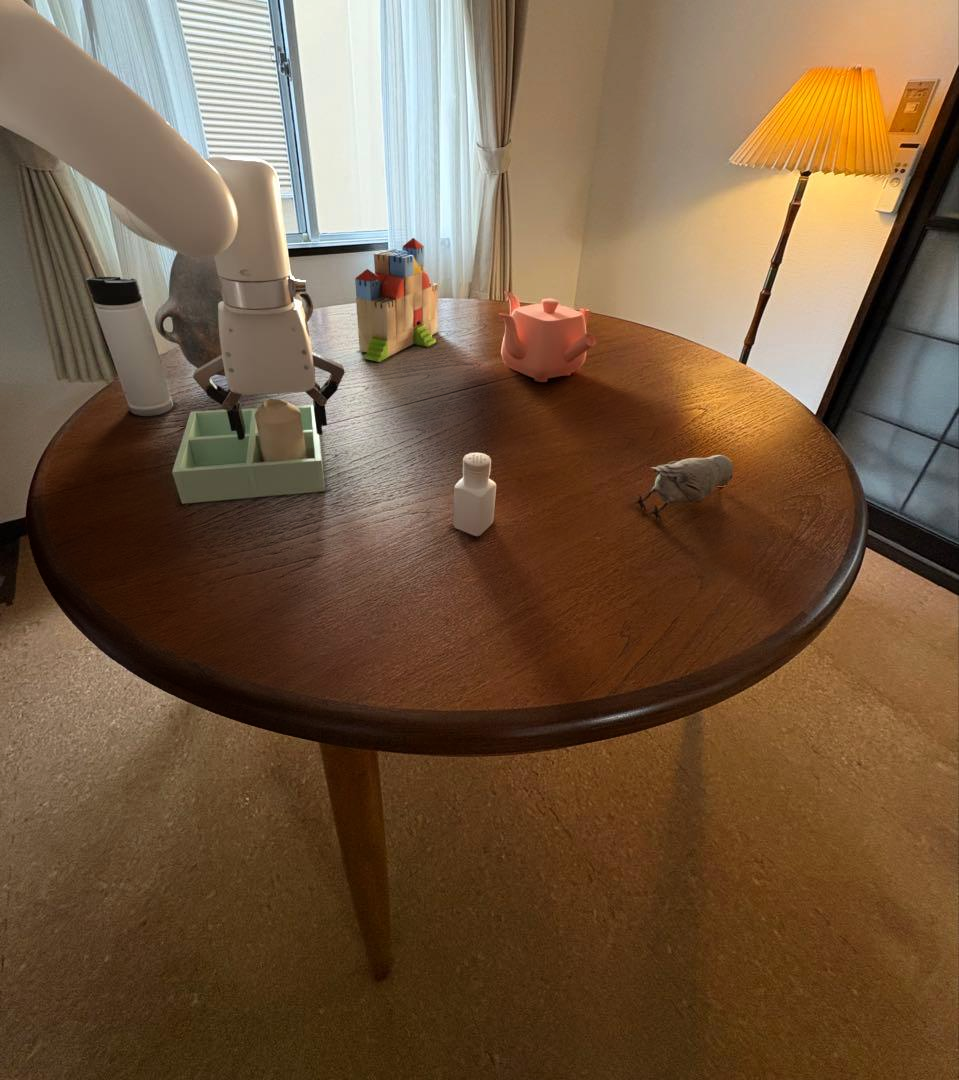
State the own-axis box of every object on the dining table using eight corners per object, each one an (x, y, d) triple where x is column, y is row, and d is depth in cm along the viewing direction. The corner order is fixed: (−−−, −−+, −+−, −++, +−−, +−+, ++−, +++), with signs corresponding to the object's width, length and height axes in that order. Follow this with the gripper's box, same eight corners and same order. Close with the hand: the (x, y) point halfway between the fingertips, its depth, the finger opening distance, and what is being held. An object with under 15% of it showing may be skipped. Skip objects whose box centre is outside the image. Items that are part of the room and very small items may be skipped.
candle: (317, 468, 77) (308, 399, 71) (290, 486, 73) (278, 415, 67) (285, 458, 79) (273, 390, 73) (257, 475, 75) (242, 404, 69)
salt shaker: (467, 513, 72) (471, 447, 66) (494, 523, 70) (500, 457, 65) (450, 528, 69) (453, 460, 63) (478, 539, 68) (483, 471, 62)
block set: (393, 366, 112) (389, 260, 100) (335, 352, 116) (325, 249, 104) (457, 331, 132) (460, 240, 121) (406, 320, 137) (404, 231, 125)
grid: (181, 504, 70) (171, 472, 67) (198, 440, 83) (190, 411, 80) (325, 491, 74) (321, 460, 71) (319, 432, 87) (315, 404, 85)
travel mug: (120, 414, 88) (71, 277, 76) (146, 398, 93) (105, 268, 81) (156, 419, 88) (114, 282, 75) (181, 403, 93) (145, 272, 81)
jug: (256, 416, 90) (214, 201, 72) (153, 390, 96) (91, 184, 78) (340, 369, 109) (324, 188, 91) (250, 349, 115) (218, 175, 96)
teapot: (492, 383, 108) (498, 308, 99) (499, 352, 122) (505, 284, 114) (587, 393, 107) (601, 318, 98) (582, 360, 121) (594, 292, 113)
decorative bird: (736, 498, 79) (755, 450, 75) (656, 529, 72) (671, 479, 67) (706, 480, 83) (722, 434, 78) (627, 508, 75) (639, 459, 71)
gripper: (335, 283, 67) (347, 416, 77) (177, 283, 63) (212, 424, 73) (340, 300, 61) (352, 441, 72) (166, 301, 57) (206, 451, 68)
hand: (281, 432), depth 72 cm, fingers open, 9 cm apart
